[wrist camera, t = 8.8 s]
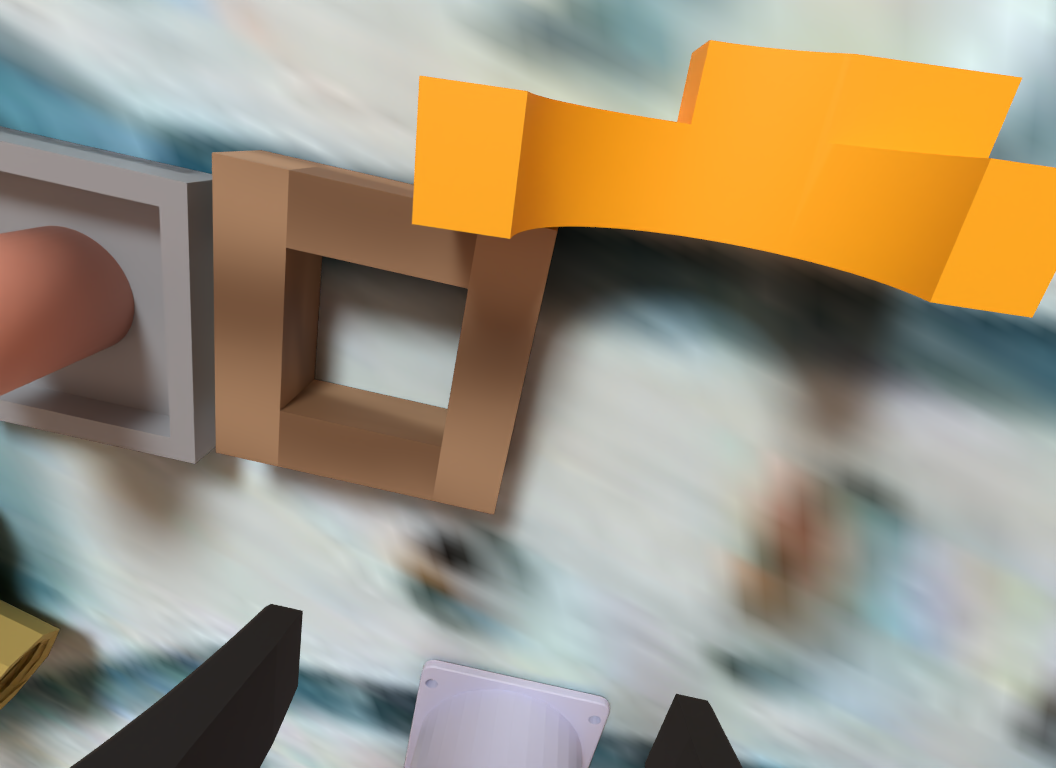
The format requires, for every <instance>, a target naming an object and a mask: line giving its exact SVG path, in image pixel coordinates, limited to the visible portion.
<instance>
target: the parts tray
mask: <svg viewBox="0 0 1056 768" xmlns="http://www.w3.org/2000/svg"><path fill="white" fill-rule="evenodd" d="M42 226H61V227H66V228H70V229H73V230H76V231H78V232H80V233H83V234H85V235H86V236H88V237H90V238H92V239H93V240H94V241H96V242H97V243H99V244H100V245H101V246H102V247H103V248H104V249H106V250H107V251H108V252H109V253H110V254H111V256H112V257H113V258H114V259H115V260H116V262H117V263H118V264H119V266H120V267H121V269H122V270H123V272H124V274H125V276H126V278H127V280H128V282H129V284H130V287H131V290H132V294H133V299H134V317H133V322H132V325H131V327H130V329H129V331H128V333H127V334H126V335H125V337H124V338H123V339H122V340H120V341H119V342H118V343H116V344H115V345H113V346H111V347H108V348H106V349H104V350H102V351H99V352H97V353H95V354H93V355H91V356H88V357H86V358H84V359H82V360H79V361H77V362H75V363H73V364H71V365H68V366H66V367H64V368H62V369H59V370H57V371H55V372H53V373H50V374H48V375H46V376H44V377H42V378H39V379H37V380H35V381H33V382H30V383H28V384H26V385H24V386H21V387H19V388H17V389H15V390H13V391H10V392H8V393H6V394H4V395H1V396H0V420H1V421H5V422H10V423H14V424H18V425H23V426H27V427H32V428H36V429H41V430H45V431H50V432H54V433H59V434H63V435H68V436H72V437H77V438H81V439H86V440H90V441H95V442H99V443H104V444H108V445H113V446H117V447H122V448H126V449H131V450H135V451H140V452H144V453H149V454H153V455H157V456H162V457H166V458H171V459H175V460H180V461H184V462H189V463H193V464H196V463H197V462H198V461H199V460H200V459H202V458H203V457H204V456H205V455H206V454H207V453H209V452H210V451H211V450H212V449H213V448H214V447H216V427H215V349H214V270H213V192H212V174H208V173H204V172H199V171H195V170H191V169H186V168H182V167H177V166H173V165H168V164H164V163H160V162H155V161H151V160H146V159H142V158H138V157H133V156H129V155H124V154H120V153H115V152H111V151H107V150H102V149H98V148H93V147H89V146H84V145H80V144H76V143H71V142H67V141H62V140H58V139H54V138H49V137H45V136H40V135H36V134H31V133H27V132H23V131H18V130H14V129H9V128H5V127H0V234H1V233H7V232H12V231H18V230H24V229H30V228H36V227H42Z"/></svg>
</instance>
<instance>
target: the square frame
mask: <svg viewBox="0 0 1056 768" xmlns="http://www.w3.org/2000/svg"><path fill="white" fill-rule="evenodd" d="M212 192H213V270H214V349H215V427H216V453H221V454H225V455H229V456H234V457H238V458H243V459H247V460H252V461H256V462H261V463H265V464H270V465H274V466H279V467H283V468H288V469H292V470H297V471H301V472H306V473H310V474H315V475H319V476H324V477H328V478H333V479H337V480H341V481H346V482H350V483H355V484H359V485H364V486H368V487H373V488H377V489H382V490H386V491H391V492H395V493H400V494H404V495H409V496H413V497H418V498H422V499H427V500H431V501H436V502H440V503H445V504H449V505H453V506H458V507H462V508H467V509H471V510H476V511H480V512H485V513H489V514H494V512H495V507H496V503H497V499H498V494H499V490H500V485H501V481H502V477H503V472H504V468H505V463H506V459H507V454H508V450H509V445H510V441H511V437H512V432H513V428H514V423H515V419H516V414H517V410H518V405H519V401H520V396H521V392H522V387H523V383H524V379H525V374H526V370H527V365H528V361H529V356H530V352H531V347H532V343H533V338H534V334H535V329H536V325H537V320H538V316H539V312H540V307H541V303H542V298H543V294H544V289H545V285H546V280H547V276H548V271H549V267H550V262H551V258H552V253H553V249H554V245H555V240H556V236H557V231H558V227H545V228H536V229H531V230H526V231H523V232H519V233H517V234H515V235H514V236H512V237H511V238H510V239H508V238H501V237H495V236H488V235H481V234H475V233H468V232H462V231H455V230H448V229H442V228H435V227H428V226H422V225H415V224H412V212H413V193H414V185H412V184H408V183H404V182H399V181H395V180H390V179H386V178H382V177H377V176H373V175H368V174H364V173H359V172H355V171H351V170H346V169H342V168H337V167H333V166H329V165H324V164H320V163H315V162H311V161H307V160H302V159H298V158H293V157H289V156H284V155H280V154H276V153H271V152H267V151H262V150H256V151H235V152H213V153H212ZM322 256H325V257H330V258H334V259H339V260H343V261H348V262H352V263H356V264H361V265H365V266H370V267H374V268H379V269H383V270H387V271H392V272H396V273H401V274H405V275H410V276H414V277H419V278H423V279H427V280H432V281H436V282H441V283H445V284H450V285H454V286H458V287H463V288H467V289H468V292H467V298H466V304H465V310H464V316H463V322H462V328H461V334H460V340H459V346H458V351H457V357H456V363H455V369H454V375H453V381H452V387H451V393H450V399H449V405H448V409H445V408H441V407H436V406H432V405H427V404H423V403H418V402H414V401H410V400H405V399H401V398H396V397H392V396H387V395H383V394H378V393H374V392H369V391H365V390H360V389H356V388H352V387H347V386H343V385H338V384H334V383H329V382H325V381H320V380H316V379H314V378H315V362H316V347H317V331H318V315H319V299H320V283H321V268H322Z"/></svg>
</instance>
